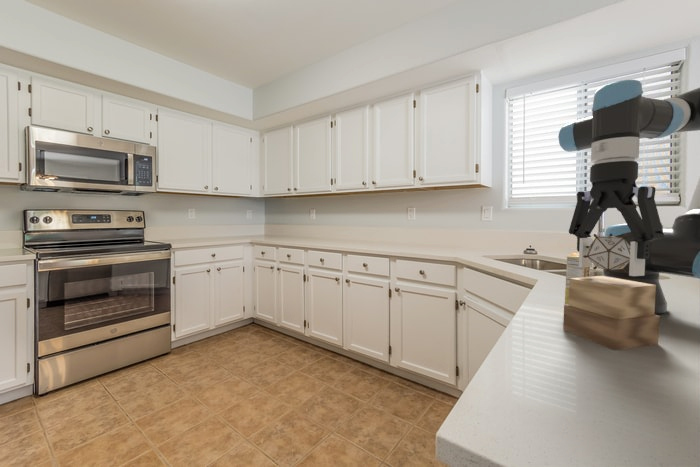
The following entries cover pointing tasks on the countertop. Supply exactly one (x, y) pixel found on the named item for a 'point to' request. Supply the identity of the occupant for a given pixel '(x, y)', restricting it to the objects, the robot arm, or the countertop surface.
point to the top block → (612, 296)
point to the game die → (609, 252)
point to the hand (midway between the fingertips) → (608, 270)
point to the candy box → (574, 272)
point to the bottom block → (612, 328)
